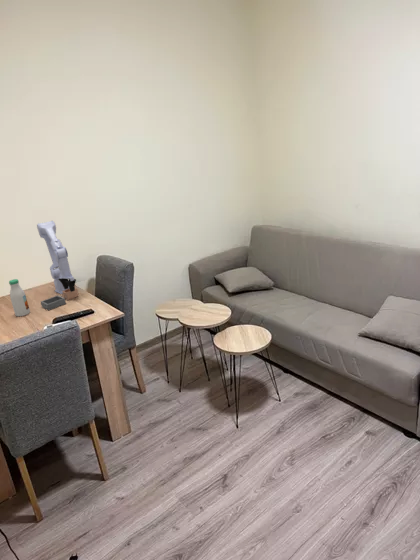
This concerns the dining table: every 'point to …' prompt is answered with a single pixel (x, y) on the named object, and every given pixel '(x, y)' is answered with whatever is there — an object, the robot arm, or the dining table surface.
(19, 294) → the milk bottle
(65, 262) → the robot arm
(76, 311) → the dining table surface
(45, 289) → the dining table surface
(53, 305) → the large crate
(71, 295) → the small crate
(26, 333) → the dining table surface
